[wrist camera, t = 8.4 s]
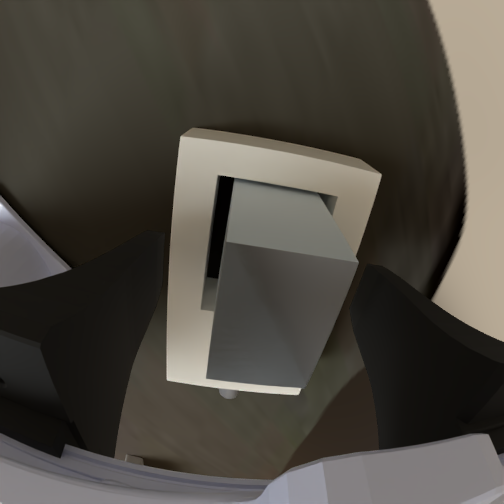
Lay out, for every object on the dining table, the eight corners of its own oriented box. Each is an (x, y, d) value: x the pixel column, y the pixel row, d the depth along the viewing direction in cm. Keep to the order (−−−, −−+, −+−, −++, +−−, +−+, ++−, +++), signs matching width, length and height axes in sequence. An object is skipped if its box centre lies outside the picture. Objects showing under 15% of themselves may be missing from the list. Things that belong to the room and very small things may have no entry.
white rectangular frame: (283, 386, 20) (287, 425, 17) (173, 373, 19) (165, 412, 16) (360, 159, 13) (388, 179, 10) (193, 127, 12) (176, 138, 9)
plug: (284, 269, 15) (305, 388, 9) (221, 259, 15) (205, 378, 9) (307, 177, 13) (359, 262, 7) (236, 164, 13) (226, 241, 7)
